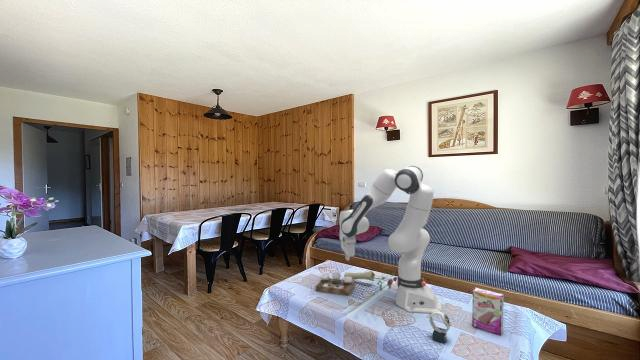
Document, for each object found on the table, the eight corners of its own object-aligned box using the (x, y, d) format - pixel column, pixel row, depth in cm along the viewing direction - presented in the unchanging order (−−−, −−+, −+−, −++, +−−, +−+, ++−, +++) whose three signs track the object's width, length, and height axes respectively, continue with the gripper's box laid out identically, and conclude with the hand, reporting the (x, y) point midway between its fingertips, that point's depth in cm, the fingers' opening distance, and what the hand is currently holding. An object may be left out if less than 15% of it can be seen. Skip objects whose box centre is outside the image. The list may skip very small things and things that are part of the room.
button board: (354, 286, 170) (354, 280, 170) (349, 295, 157) (349, 289, 157) (323, 282, 177) (323, 276, 177) (315, 291, 164) (315, 285, 164)
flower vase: (351, 290, 182) (404, 291, 162) (341, 291, 173) (395, 292, 153) (351, 271, 186) (401, 269, 166) (340, 270, 177) (393, 269, 156)
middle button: (341, 276, 170) (341, 273, 170) (339, 279, 166) (339, 276, 166) (333, 275, 172) (333, 272, 172) (331, 278, 167) (331, 275, 167)
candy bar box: (471, 326, 125) (472, 290, 124) (474, 322, 129) (474, 286, 128) (501, 336, 118) (501, 297, 117) (503, 331, 121) (503, 293, 121)
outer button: (330, 277, 173) (330, 274, 173) (328, 280, 168) (328, 277, 168) (322, 276, 174) (322, 273, 174) (320, 279, 170) (320, 276, 170)
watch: (449, 345, 112) (449, 318, 112) (428, 339, 117) (428, 312, 116) (451, 338, 117) (451, 312, 116) (431, 332, 121) (431, 307, 121)
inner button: (352, 280, 168) (352, 276, 168) (351, 283, 163) (351, 279, 163) (344, 279, 170) (344, 275, 170) (342, 282, 165) (342, 278, 165)
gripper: (338, 233, 176) (338, 255, 176) (345, 240, 155) (346, 265, 156) (348, 232, 177) (348, 254, 177) (356, 240, 156) (357, 265, 157)
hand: (347, 259), depth 166 cm, fingers closed
